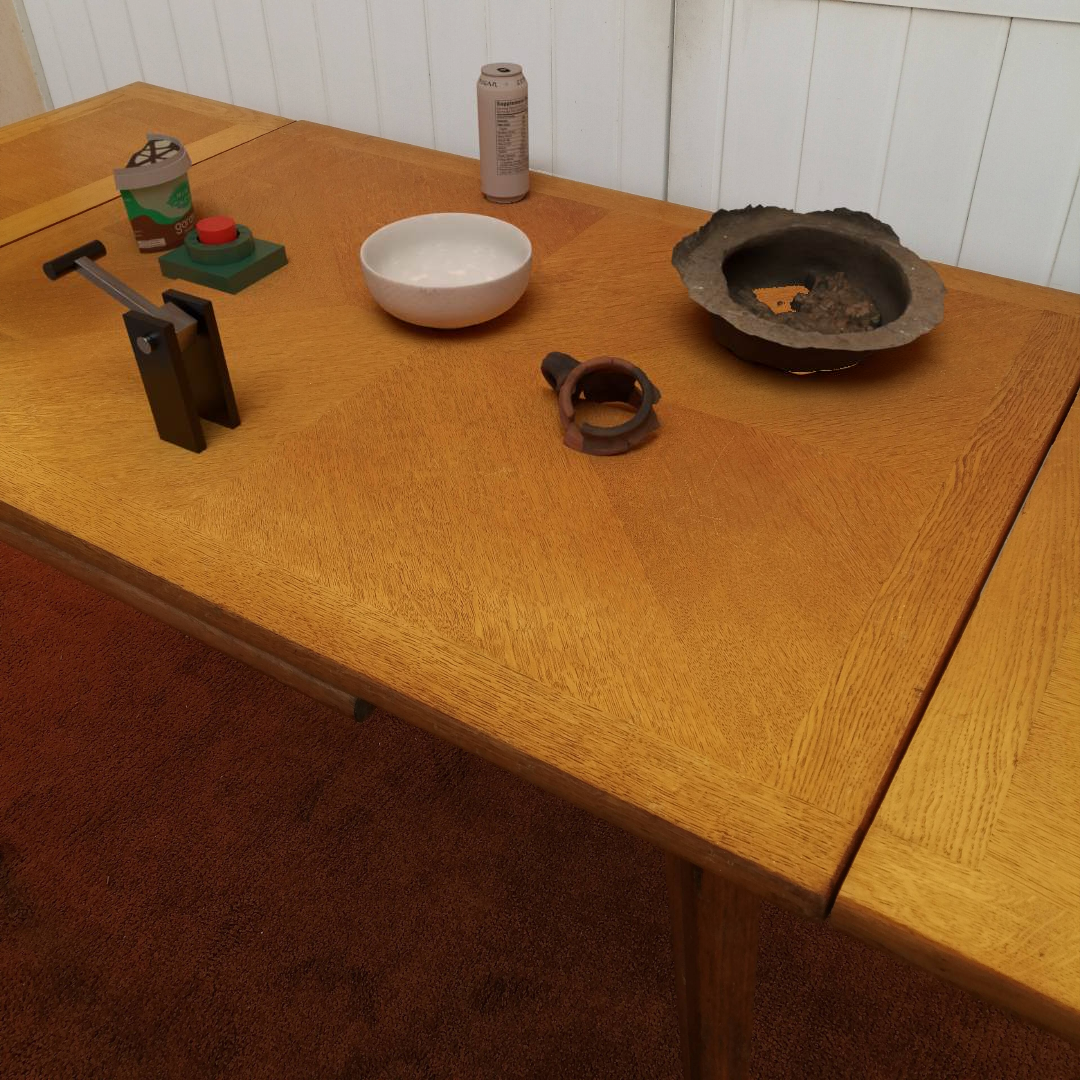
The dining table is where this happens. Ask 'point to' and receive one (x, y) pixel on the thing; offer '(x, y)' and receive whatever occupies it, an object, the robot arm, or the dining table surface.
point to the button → (216, 230)
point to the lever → (120, 289)
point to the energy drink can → (503, 132)
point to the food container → (158, 194)
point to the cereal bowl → (447, 268)
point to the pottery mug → (601, 400)
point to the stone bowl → (808, 285)
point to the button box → (224, 261)
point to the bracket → (183, 372)
